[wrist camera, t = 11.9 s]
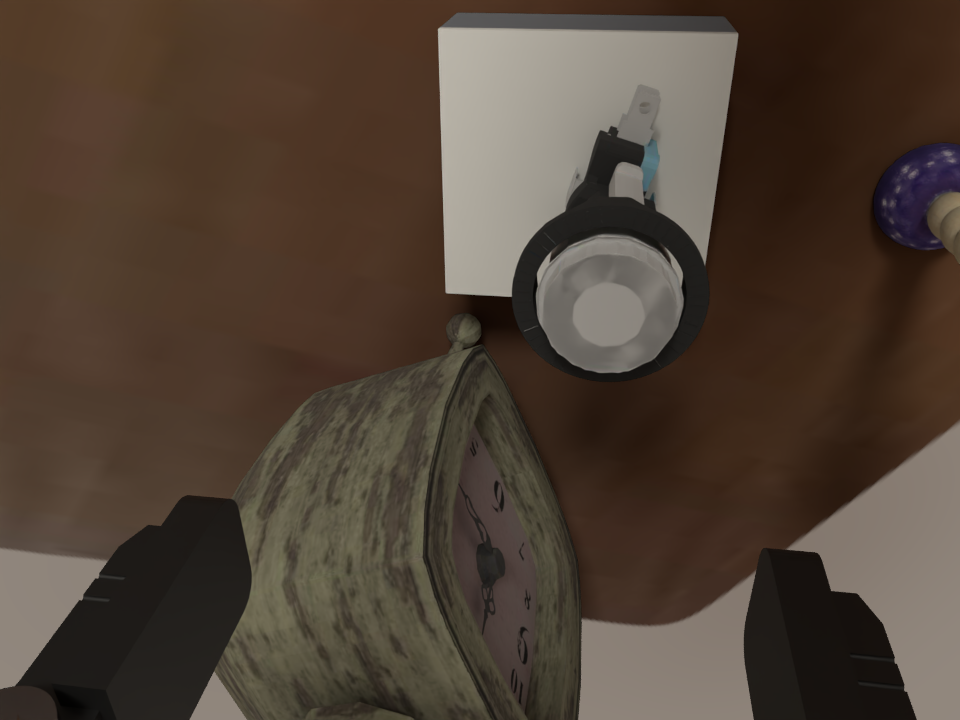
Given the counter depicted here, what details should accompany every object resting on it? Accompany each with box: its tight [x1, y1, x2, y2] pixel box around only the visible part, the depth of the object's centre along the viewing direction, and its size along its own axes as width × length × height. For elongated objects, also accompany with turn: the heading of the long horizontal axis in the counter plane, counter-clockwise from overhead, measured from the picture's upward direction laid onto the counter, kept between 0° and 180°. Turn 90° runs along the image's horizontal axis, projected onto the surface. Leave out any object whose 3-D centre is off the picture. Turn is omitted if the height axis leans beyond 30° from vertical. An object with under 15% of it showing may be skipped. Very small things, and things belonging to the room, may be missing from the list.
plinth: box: [438, 13, 738, 297], centre depth 32 cm, size 10×10×4 cm
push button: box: [512, 84, 709, 382], centre depth 26 cm, size 7×5×10 cm
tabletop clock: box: [214, 313, 582, 720], centre depth 31 cm, size 14×9×25 cm, turn 22°
